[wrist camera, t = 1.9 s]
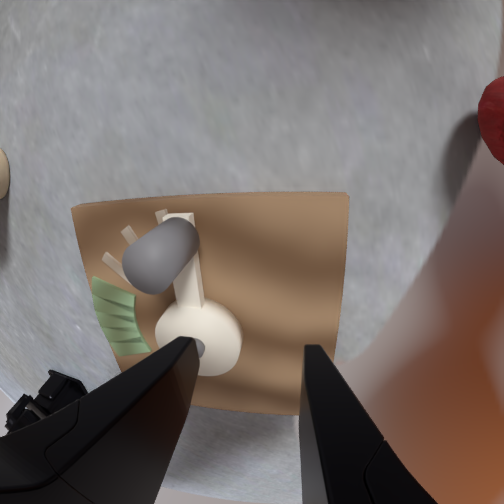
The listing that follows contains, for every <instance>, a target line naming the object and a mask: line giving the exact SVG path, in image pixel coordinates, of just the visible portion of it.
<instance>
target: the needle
mask: <svg viewBox="0 0 504 504" xmlns="http://www.w3.org/2000/svg"><path fill="white" fill-rule="evenodd" d="M162 218H163V222H162V223H161V224H159V225H158V226H156V227H155V228H153V229H152V230H151V231H149V232H148V233H146V234H145V235H144V236H142V237H141V238H139V239H138V240H137V241H135V242H134V243H132V244H131V245H130V246H128V247H127V248H126V250H125V251H124V253H123V257H122V268H123V271H124V274H125V276H126V278H127V279H128V281H129V282H130V283H131V284H132V285H133V286H134V287H135V288H136V289H138V290H139V291H141V292H143V293H146V294H151V295H155V294H160V293H162V292H164V291H165V290H166V289H167V288H168V287H169V286H170V284H171V283H172V282H173V285H174V290H175V295H176V301H174V302H173V303H171V304H170V305H169V307H168V308H167V309H166V311H165V312H164V314H163V315H162V316H161V318H160V319H159V321H158V322H157V324H156V328H155V337H156V341H157V344H158V346H159V348H161V347H163V346H165V345H166V344H168V343H169V342H171V341H172V340H174V339H175V338H177V337H179V336H187V337H193V338H194V339H195V341H196V345H197V350H198V354H199V359H200V367H199V371H198V375H200V376H217V375H221V374H224V373H226V372H228V371H229V370H231V369H232V368H233V367H234V366H235V364H236V362H237V360H238V357H239V354H240V350H241V347H242V343H243V331H242V328H241V325H240V323H239V321H238V320H237V318H236V317H235V316H234V314H233V313H232V312H231V311H230V310H228V309H227V308H226V307H225V306H223V305H221V304H220V303H218V302H216V301H214V300H211V299H208V298H205V297H204V292H203V285H202V278H201V271H200V263H199V255H198V249H199V245H200V238H199V234H198V232H197V230H196V228H195V223H194V214H193V213H173V214H167V215H165V216H164V217H162Z"/></svg>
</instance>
